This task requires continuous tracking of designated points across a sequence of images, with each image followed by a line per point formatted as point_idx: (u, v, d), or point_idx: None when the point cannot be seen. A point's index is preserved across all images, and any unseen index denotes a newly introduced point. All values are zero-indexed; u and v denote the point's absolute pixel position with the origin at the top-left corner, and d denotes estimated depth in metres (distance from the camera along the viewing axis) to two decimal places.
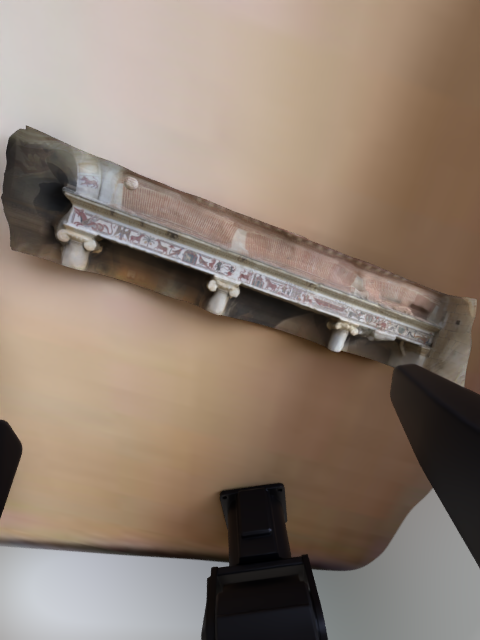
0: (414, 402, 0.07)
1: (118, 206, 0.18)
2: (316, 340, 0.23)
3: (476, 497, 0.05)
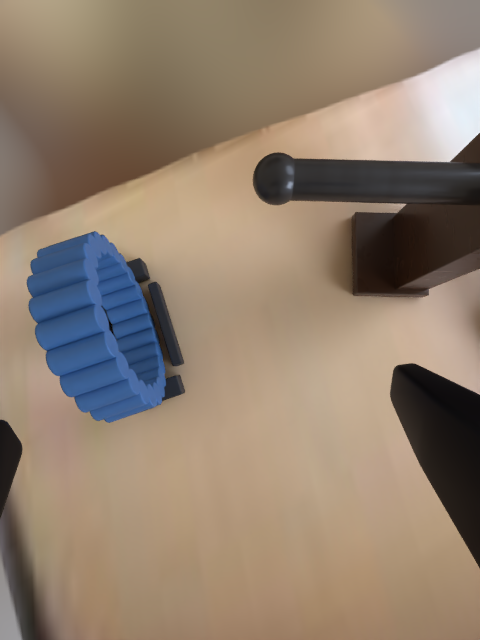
0: (414, 402, 0.07)
1: None
2: None
3: (476, 497, 0.05)
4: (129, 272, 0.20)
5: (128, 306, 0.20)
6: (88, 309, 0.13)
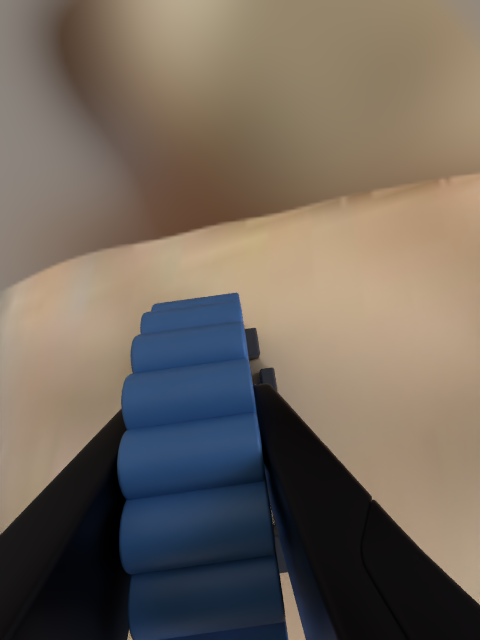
0: None
1: None
2: None
3: (280, 524, 0.05)
4: None
5: None
6: (252, 496, 0.05)
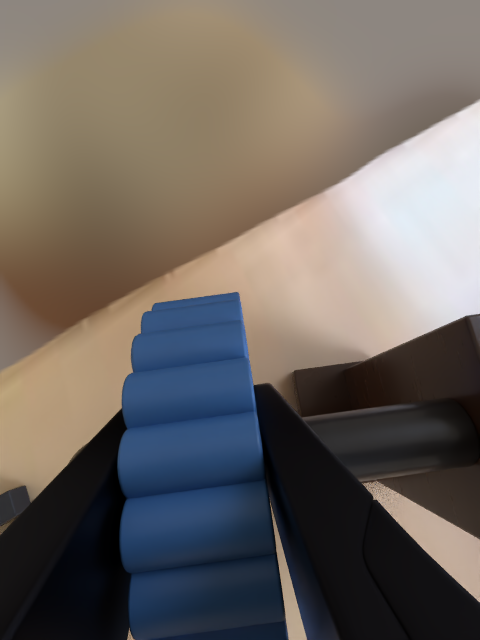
0: None
1: None
2: None
3: (282, 524, 0.05)
4: None
5: None
6: (252, 495, 0.05)
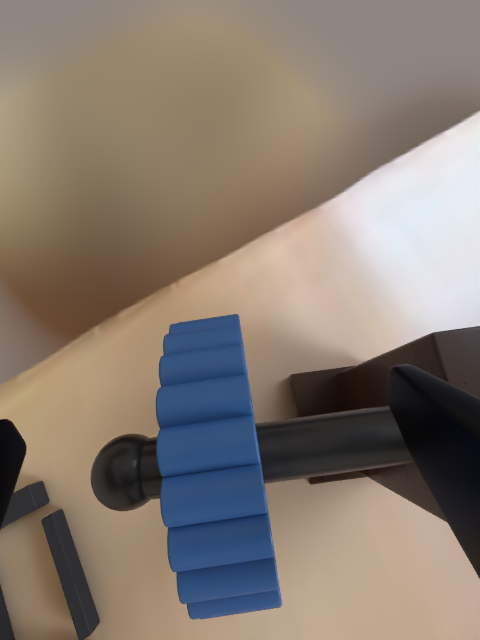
0: (409, 403, 0.07)
1: None
2: None
3: (470, 498, 0.05)
4: None
5: None
6: (251, 474, 0.08)
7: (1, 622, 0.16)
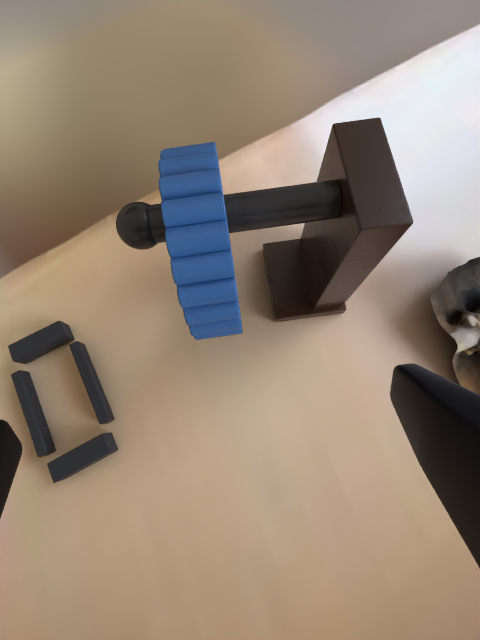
0: (414, 402, 0.07)
1: None
2: None
3: (476, 497, 0.05)
4: None
5: None
6: (216, 193, 0.12)
7: (39, 416, 0.20)
